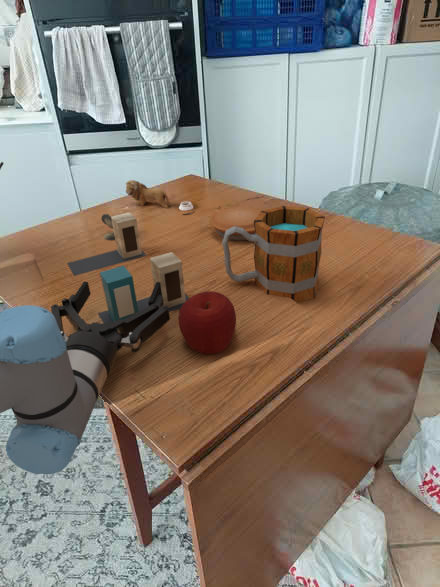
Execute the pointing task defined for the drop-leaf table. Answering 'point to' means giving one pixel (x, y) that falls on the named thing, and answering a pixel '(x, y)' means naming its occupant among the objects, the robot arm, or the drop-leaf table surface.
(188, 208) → the white jar
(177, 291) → the cream upright block
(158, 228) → the drop-leaf table surface
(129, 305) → the teal upright block
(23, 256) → the drop-leaf table surface
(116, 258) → the board
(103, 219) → the eagle figurine
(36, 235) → the drop-leaf table surface
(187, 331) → the apple
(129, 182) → the lion figurine
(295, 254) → the mug
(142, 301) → the front word board
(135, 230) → the letter
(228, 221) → the pie
